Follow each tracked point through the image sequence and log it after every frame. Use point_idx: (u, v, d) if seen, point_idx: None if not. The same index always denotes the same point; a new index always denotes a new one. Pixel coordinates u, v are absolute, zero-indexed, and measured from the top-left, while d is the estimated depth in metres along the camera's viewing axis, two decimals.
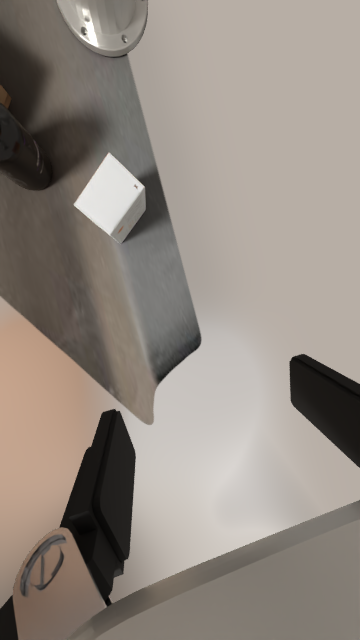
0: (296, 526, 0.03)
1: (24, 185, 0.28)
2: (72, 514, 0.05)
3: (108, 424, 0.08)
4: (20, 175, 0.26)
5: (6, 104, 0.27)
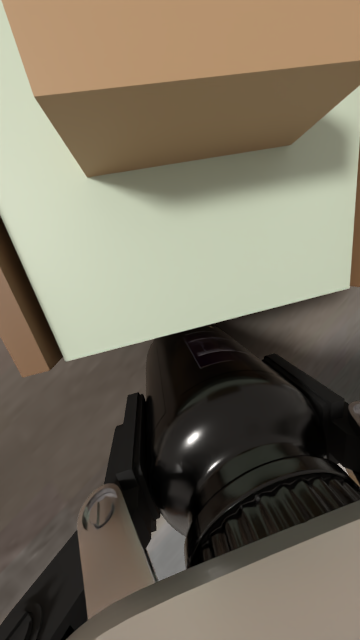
0: (296, 525, 0.03)
1: None
2: (118, 472, 0.06)
3: (135, 404, 0.08)
4: None
5: None
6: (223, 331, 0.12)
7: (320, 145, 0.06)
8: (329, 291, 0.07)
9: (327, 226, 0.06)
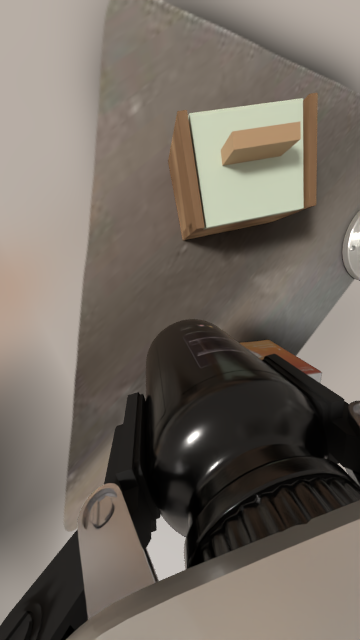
0: (296, 525, 0.03)
1: None
2: (118, 472, 0.06)
3: (135, 404, 0.08)
4: None
5: (264, 223, 0.26)
6: (223, 331, 0.12)
7: (290, 156, 0.18)
8: (295, 208, 0.19)
9: (294, 183, 0.19)
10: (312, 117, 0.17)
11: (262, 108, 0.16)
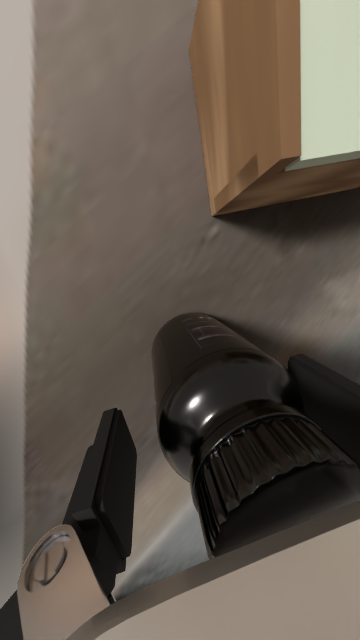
0: (296, 526, 0.03)
1: None
2: (75, 511, 0.05)
3: (110, 423, 0.08)
4: None
5: (354, 187, 0.14)
6: None
7: None
8: None
9: None
10: None
11: None
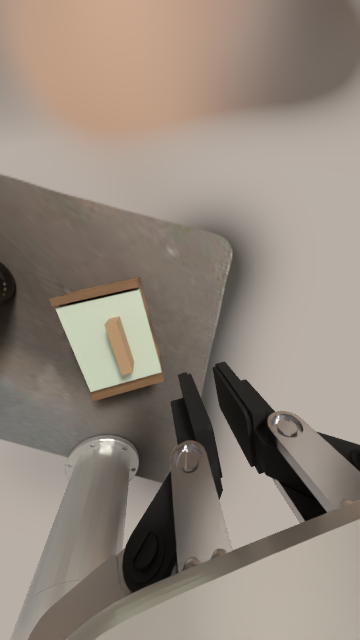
0: (295, 525, 0.03)
1: None
2: (196, 430, 0.07)
3: (188, 381, 0.09)
4: None
5: None
6: (4, 297, 0.23)
7: None
8: (88, 385, 0.22)
9: (107, 379, 0.23)
10: (150, 381, 0.23)
11: (151, 344, 0.22)
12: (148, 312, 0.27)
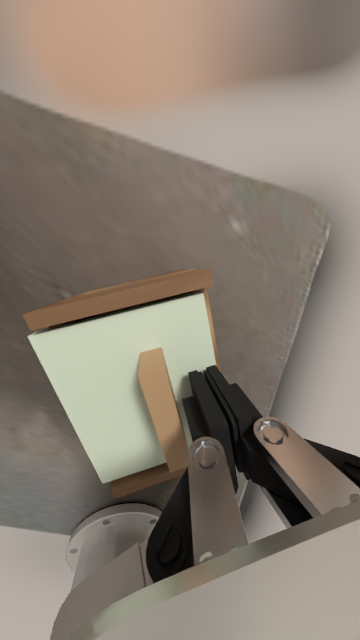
0: (296, 526, 0.03)
1: None
2: (211, 427, 0.07)
3: (200, 379, 0.09)
4: None
5: None
6: None
7: None
8: (99, 474, 0.12)
9: (134, 460, 0.12)
10: None
11: None
12: None
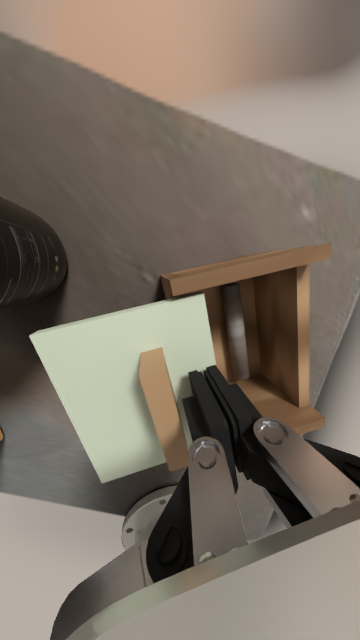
0: (296, 526, 0.03)
1: None
2: (211, 427, 0.07)
3: (199, 379, 0.09)
4: None
5: None
6: (53, 282, 0.13)
7: None
8: (98, 473, 0.12)
9: (133, 460, 0.12)
10: (304, 428, 0.13)
11: None
12: None
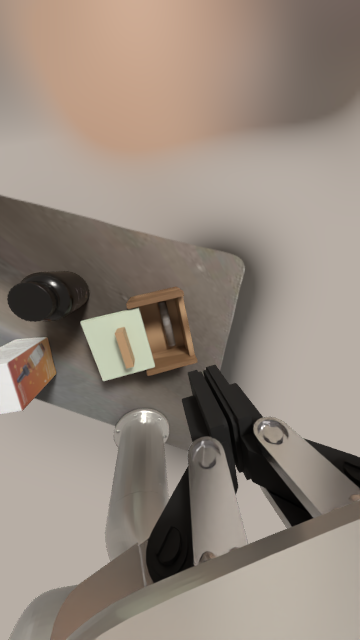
0: (296, 526, 0.03)
1: None
2: (211, 427, 0.07)
3: (200, 378, 0.09)
4: None
5: None
6: (84, 302, 0.32)
7: None
8: (102, 376, 0.31)
9: (115, 372, 0.31)
10: (187, 362, 0.32)
11: (147, 346, 0.31)
12: None
